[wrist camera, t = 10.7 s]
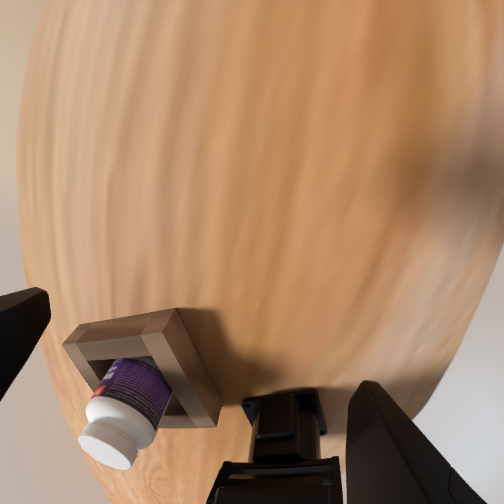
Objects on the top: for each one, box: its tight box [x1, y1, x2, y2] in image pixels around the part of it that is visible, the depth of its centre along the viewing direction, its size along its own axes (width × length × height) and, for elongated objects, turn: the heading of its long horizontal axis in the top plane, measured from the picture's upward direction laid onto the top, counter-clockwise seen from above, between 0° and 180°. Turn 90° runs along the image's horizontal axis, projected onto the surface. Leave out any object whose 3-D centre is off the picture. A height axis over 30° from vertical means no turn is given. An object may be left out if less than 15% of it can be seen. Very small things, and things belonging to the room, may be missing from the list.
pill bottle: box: [79, 355, 173, 470], centre depth 20 cm, size 5×5×10 cm
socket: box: [62, 308, 223, 428], centre depth 24 cm, size 10×10×3 cm
